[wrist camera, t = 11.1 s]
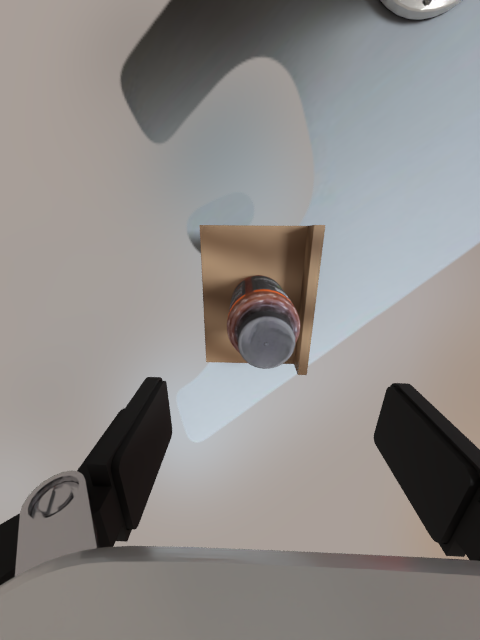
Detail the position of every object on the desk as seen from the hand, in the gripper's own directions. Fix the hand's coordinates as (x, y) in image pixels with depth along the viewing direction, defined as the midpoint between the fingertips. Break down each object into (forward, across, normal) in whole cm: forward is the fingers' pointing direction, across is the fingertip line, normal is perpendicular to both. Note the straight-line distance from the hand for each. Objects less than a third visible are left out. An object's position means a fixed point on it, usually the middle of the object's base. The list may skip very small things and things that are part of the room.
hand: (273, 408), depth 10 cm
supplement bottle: (+18, 0, 0) cm, 18 cm away
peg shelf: (+24, 0, 0) cm, 24 cm away
